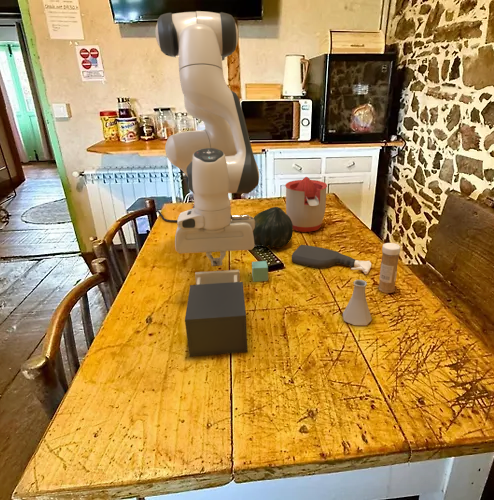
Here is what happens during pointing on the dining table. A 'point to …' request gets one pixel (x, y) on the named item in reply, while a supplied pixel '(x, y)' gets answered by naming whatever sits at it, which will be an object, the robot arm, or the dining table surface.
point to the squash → (272, 228)
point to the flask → (357, 306)
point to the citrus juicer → (306, 204)
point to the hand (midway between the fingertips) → (216, 265)
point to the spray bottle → (326, 258)
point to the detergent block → (259, 271)
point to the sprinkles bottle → (389, 267)
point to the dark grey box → (216, 319)
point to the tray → (217, 277)
